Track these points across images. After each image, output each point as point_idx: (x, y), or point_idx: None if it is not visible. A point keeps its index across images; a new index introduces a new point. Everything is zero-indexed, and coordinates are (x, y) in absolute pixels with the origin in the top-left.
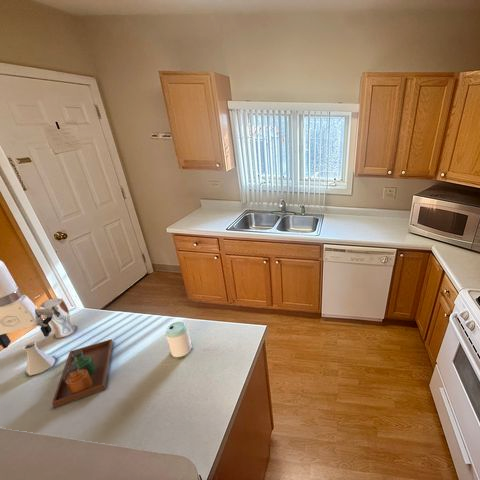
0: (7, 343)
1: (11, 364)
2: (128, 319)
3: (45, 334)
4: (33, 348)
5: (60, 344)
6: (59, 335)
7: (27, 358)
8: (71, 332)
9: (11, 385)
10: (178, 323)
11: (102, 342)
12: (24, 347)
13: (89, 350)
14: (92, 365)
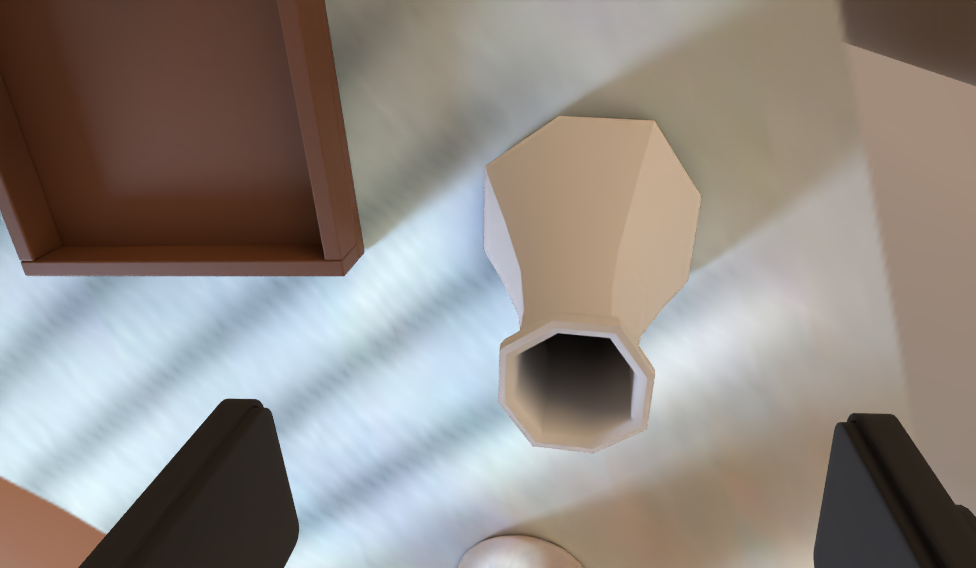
0: (842, 508)
1: (859, 385)
2: (79, 505)
3: (209, 431)
4: (530, 325)
5: (517, 454)
6: (540, 560)
7: (650, 272)
8: (466, 557)
9: (796, 57)
10: None
11: (88, 264)
12: (635, 383)
13: (216, 235)
14: None
